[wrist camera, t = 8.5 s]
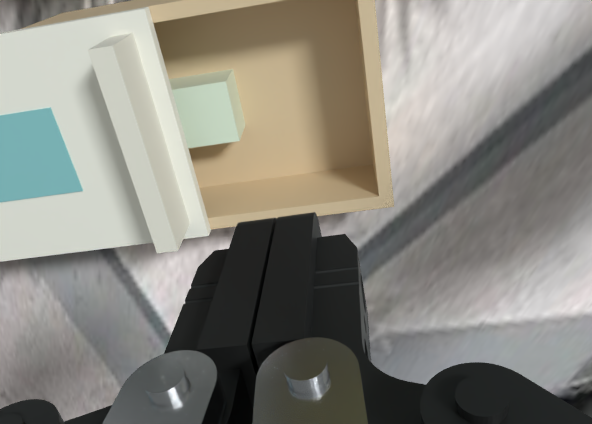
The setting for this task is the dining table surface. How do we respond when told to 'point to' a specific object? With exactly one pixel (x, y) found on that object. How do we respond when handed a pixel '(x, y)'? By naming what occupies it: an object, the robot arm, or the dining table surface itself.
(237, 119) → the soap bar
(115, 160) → the lid
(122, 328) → the dining table surface
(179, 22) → the open tan box
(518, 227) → the dining table surface
